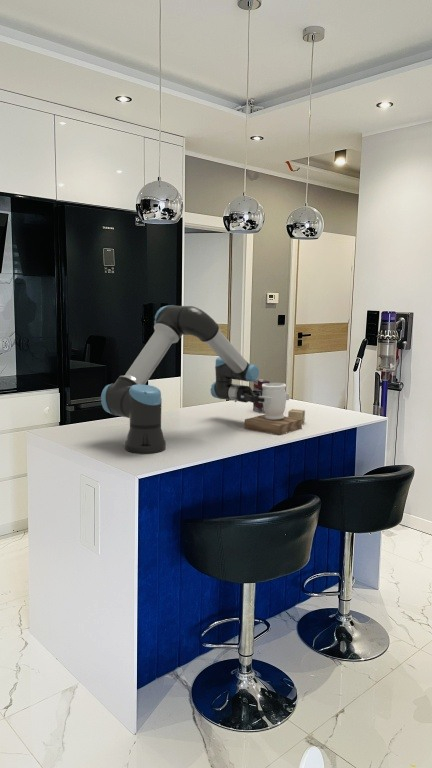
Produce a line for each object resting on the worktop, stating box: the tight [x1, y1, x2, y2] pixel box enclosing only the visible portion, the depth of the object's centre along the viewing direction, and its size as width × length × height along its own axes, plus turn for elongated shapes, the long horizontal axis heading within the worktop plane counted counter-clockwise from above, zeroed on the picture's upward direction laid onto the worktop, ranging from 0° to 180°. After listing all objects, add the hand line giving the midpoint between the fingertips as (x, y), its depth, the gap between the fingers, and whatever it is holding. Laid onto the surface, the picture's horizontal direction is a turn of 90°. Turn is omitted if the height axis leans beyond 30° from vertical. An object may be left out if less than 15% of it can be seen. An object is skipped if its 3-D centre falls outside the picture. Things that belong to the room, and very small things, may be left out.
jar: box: [262, 382, 287, 420], centre depth 264 cm, size 11×10×15 cm
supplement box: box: [252, 378, 271, 414], centre depth 300 cm, size 9×5×16 cm, turn 25°
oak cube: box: [287, 408, 306, 425], centre depth 274 cm, size 6×6×6 cm
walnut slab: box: [243, 413, 303, 436], centre depth 263 cm, size 18×18×4 cm
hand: (280, 399), depth 260 cm, fingers open, 13 cm apart
